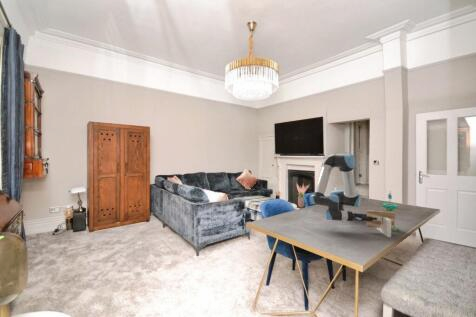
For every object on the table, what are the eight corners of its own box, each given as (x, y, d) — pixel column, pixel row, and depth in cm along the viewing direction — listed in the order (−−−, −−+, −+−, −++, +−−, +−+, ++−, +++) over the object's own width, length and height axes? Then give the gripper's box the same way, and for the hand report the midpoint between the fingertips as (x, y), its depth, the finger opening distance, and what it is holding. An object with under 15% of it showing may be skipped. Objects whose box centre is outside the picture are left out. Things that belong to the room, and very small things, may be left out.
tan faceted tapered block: (366, 226, 164) (366, 210, 164) (392, 227, 161) (393, 211, 160) (367, 227, 162) (367, 211, 161) (394, 228, 158) (394, 212, 158)
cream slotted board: (371, 224, 178) (372, 210, 178) (374, 225, 177) (375, 210, 177) (387, 236, 152) (387, 220, 152) (390, 237, 152) (391, 220, 152)
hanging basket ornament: (380, 225, 177) (381, 189, 177) (396, 227, 173) (397, 190, 172) (382, 229, 168) (383, 191, 167) (399, 231, 163) (400, 192, 162)
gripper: (343, 218, 173) (375, 220, 169) (349, 224, 158) (385, 226, 153) (343, 208, 173) (375, 210, 168) (350, 213, 158) (385, 216, 153)
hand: (380, 218), depth 161 cm, fingers closed on tan faceted tapered block, 2 cm apart
